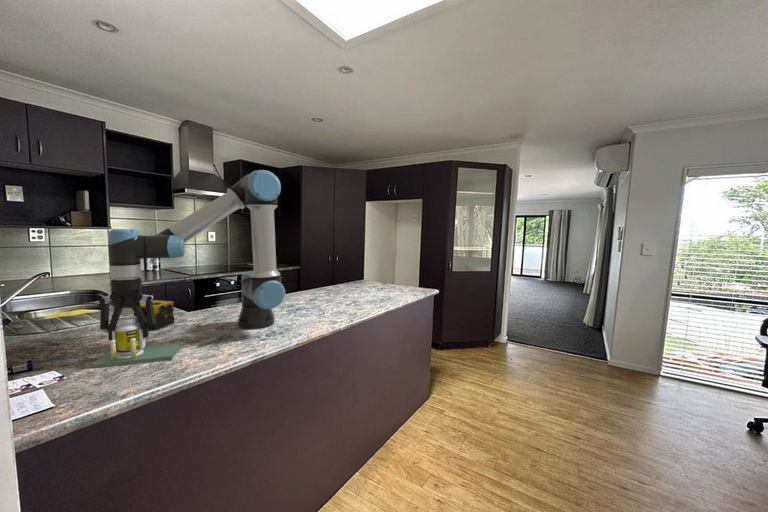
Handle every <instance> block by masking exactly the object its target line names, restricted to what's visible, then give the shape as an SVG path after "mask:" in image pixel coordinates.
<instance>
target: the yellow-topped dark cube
mask: <svg viewBox="0 0 768 512" xmlns="http://www.w3.org/2000/svg"><path fill="white" fill-rule="evenodd" d="M145 304H146V302H145V301H144V302H142V303H140V305H141V309H142V311H143V313H144V315H145V317H146V320H147V313H146V305H145ZM153 310H154V317H155V324H153V325H152V326H150V327H148V331H154V330H155V331H158V330H160V328H161V329H163V328H166V327H168V326H171V324H172V325H174V323H175V314H174V310H175V309H174V301H171V300H168V301H167V300H158V299H153ZM133 316H136V314H135V312H134V311H133ZM147 322H148V320H147ZM137 323H138V324H140V323H139V321H138V322H137ZM157 329H158V330H157Z"/></svg>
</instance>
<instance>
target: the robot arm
mask: <svg viewBox="0 0 768 512" xmlns="http://www.w3.org/2000/svg"><path fill="white" fill-rule="evenodd" d="M281 186H282V185H281V181H280V179H279V178H278V176H277V175H275V174H274V173H273V172H271V171H270V170H266V169H259V170H254V171H252V172H251V173H248V174H245V175H244V176H243V177H242V178H241V179H239V180H238V181H237V182H235V184H233V185H231V186H230V187H228V188H226V193H224V194H222V195H221V196H219V197H217V198H215V199H214V200H212V201H211V202H209V203H207V204H205V205H204V206H202V207H200V208H199V209H197V210H195V211H194V212H191V213H190V214H188V215H187V216H185V217H183V218H182V219H180V220H179V221H177V222H176V223H174V224H172V225H170V226H169V227H167V228H165V229H164V230H162V231H160V232H158V233H157V234H154V235H142V234H140V231H139V229H135V228H133V229H132V228H131V229H129V228H112V229H110V230H109V231H108V239H107V240H108V243H107V245H108V246H107V247H108V260H109V276H110V278H111V280H110V292H111V293H110V295H109V296H104V297H103V296H102V297H101V298H99V299H98V302H99V304H100V318H99V320H100V322H99V329H100V330H102V331H103V330H105V331H106V332H108V340H109V342H110V341H111V340H116V351H117V338H116V328H117V327H118V326H117V325H118V324H119V319H120V317H121V313H122V310H124V308H131V309H132V311H133V313H134V312H135V314H136V317H137V319H138V321H139V323H140V325H141V328H140V329H139V346H140V349H143V348H144V347H145V346H147V345H146V339H147V338H148V337H149V335H150V334H149V330H148V327H150V326H152V325H153V324H155V317H154V310H153V300H154V298H155V295H153V294H150V295H149V294H145V293H144V292H143V284H142V281H143V280H142V278H141V276H142V264H141V263H142V262H141V259H144V260H146V259H147V260H148V259H174V258H175V259H176V258H177V259H178V258H182V257H184V256H185V251H186V250H185V243H187V242H188V241H190V240H191V239H193V238H194V237H197V236H198V235H200V234H201V233H202V232H204V231H206V230H207V229H209V228H211V227H212V226H214V225H215V224H217V223H218V222H220V221H221V220H223V219H225V218H226V217H228V216H229V215H231V214H233V213H234V212H236V211H237V210H239V209H241V210H243V209H245V208H247V209H249V210H250V224H251V226H250V227H251V228H250V229H251V246H252V248H251V249H252V263H253V264H252V265H253V271H252V272H246V273H243V274H242V275H241V280H240V284H241V310H240V312H239V315H238V319H237V327H238V328H241V329H245V330H246V329H247V330H250V329H252V330H255V329H256V330H257V329H264V328H267V327H270V326H272V325H274V324H275V314H274V313H273V310H272V309H275V308H277V307H278V306H280V305H281V304H282V302H283V301H284V299H285V297H286V296H285V295H286V289H285V287H284V285H283V284H282V277H281V276H282V275H281V272H279V271H278V270H277V255H276V254H277V253H276V231H275V229H276V227H275V225H276V224H275V210H276V209H277V208H278V197H279V195H280V194H281V189H282V187H281ZM142 299H143V302H144V303H145V302H146V304H145V305H146V313H147V320H148V322H147V320H146V317H145V315H144V313H143V311H142V309H141V305H140V304H141V303H140V302H141V300H142ZM111 301H112V302H113V303H114V304H115V306H114V308H113V310H114V311H113V312H112V316H111V318H110V304H111Z"/></svg>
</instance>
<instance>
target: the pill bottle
mask: <svg viewBox="0 0 768 512" xmlns="http://www.w3.org/2000/svg"><path fill="white" fill-rule="evenodd" d="M137 322H138V319H137V317H136V316H134V315H133V316H125V317H121V318H119V320H118V326H116V328H115V329H116V338H117V353H118V354H120V355H129V354H131V343H130V339H132V338H136V341H135V342H136V352H139V351H140V350H141V349H140V346H139V329H140V328H141V325H140V324H138V323H137Z"/></svg>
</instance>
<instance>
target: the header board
mask: <svg viewBox="0 0 768 512" xmlns="http://www.w3.org/2000/svg"><path fill="white" fill-rule="evenodd" d="M135 341H136V338H132V339H130V343H131V354H129V355H120V354H118V353H117V351H116V340H111V341H109V345H110V350H108V352H106V353H105V354H103V355H102V356H101V357H100V358H98V359H97V360H96V361H94V362H93V363H92V365H91V367H92V369H97V368H106V367H108V368H109V367H115V366H116V367H118V366H125V365H127V366H128V365H135V364H137V365H138V364H143V363H144V364H146V363H155V362H163V361H172V360H173V359H174V358H175V356H176V354H178V352H179V351H180V349H181V348H182V347H183V343H182V342H177V343H175V342H174V343H165V344H153V345H146V346H145V347H144V348H143V349H141V350H140V351H139V352H136V342H135Z"/></svg>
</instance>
